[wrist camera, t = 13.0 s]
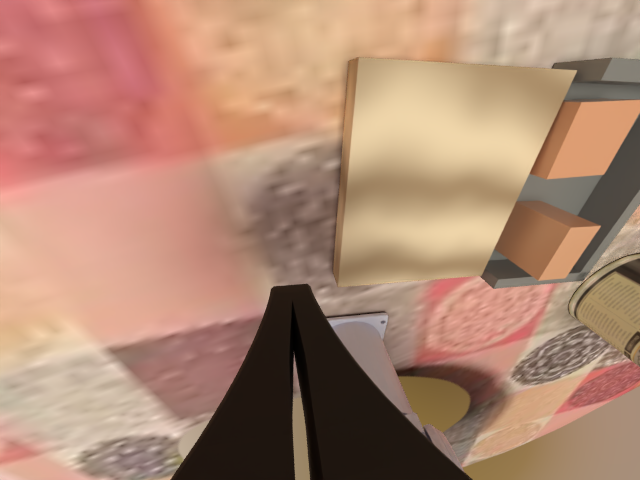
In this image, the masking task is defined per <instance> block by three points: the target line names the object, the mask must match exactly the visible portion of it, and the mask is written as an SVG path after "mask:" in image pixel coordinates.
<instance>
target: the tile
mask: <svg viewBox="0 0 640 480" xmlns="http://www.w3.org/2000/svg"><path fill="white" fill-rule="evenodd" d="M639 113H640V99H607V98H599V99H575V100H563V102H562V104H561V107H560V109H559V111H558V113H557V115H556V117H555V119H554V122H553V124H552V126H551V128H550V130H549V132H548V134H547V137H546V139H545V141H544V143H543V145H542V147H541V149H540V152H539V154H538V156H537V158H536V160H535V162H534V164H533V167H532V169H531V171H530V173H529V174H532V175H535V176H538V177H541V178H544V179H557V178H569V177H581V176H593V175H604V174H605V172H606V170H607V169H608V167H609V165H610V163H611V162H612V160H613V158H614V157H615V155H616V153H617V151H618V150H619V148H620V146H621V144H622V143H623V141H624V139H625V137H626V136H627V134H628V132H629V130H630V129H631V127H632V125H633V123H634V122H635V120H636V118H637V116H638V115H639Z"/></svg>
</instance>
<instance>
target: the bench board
mask: <svg viewBox="0 0 640 480" xmlns="http://www.w3.org/2000/svg"><path fill="white" fill-rule="evenodd" d="M576 72H577V70H563V69H546V68H530V67H513V66H496V65H480V64H463V63H446V62H430V61H413V60H397V59H380V58H363V57H358V58H356V59H353V60H350V61H349V64H348V77H347V91H346V104H345V117H344V131H343V144H342V157H341V171H340V184H339V198H338V211H337V224H336V238H335V251H334V264H333V274H334V277H335V280H336V283H337V286H338V287H347V286H359V285H371V284H384V283H396V282H408V281H421V280H433V279H445V278H458V277H470V276H482V274H483V272H484V270H485V267H486V265H487V263H488V261H489V259H490V257H491V255H492V252H493V250H494V248H495V246H496V244H497V242H498V240H499V237H500V235H501V233H502V231H503V229H504V227H505V225H506V222H507V220H508V218H509V216H510V214H511V212H512V210H513V207H514V205H515V203H516V201H517V199H518V197H519V195H520V192H521V190H522V188H523V186H524V184H525V182H526V179H527V177H528V175H529V173H530V171H531V169H532V167H533V164H534V162H535V160H536V158H537V156H538V154H539V152H540V149H541V147H542V145H543V143H544V141H545V139H546V137H547V134H548V132H549V130H550V128H551V126H552V124H553V122H554V119H555V117H556V115H557V113H558V111H559V109H560V107H561V104H562V102H563V100H564V98H565V96H566V94H567V92H568V89H569V87H570V85H571V83H572V81H573V79H574V77H575V74H576Z"/></svg>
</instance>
